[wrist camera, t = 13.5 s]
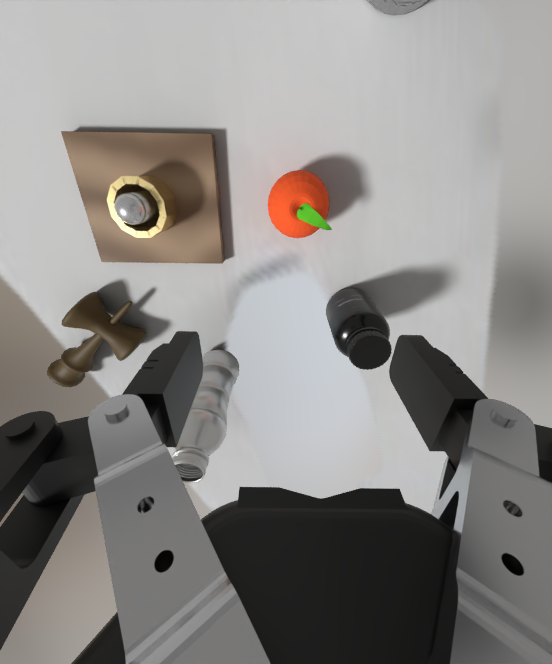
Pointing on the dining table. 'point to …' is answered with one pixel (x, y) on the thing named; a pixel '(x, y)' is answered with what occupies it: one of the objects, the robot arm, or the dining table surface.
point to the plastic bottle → (206, 416)
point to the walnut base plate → (147, 160)
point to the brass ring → (160, 194)
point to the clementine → (299, 204)
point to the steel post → (136, 207)
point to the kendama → (93, 339)
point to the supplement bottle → (359, 328)
